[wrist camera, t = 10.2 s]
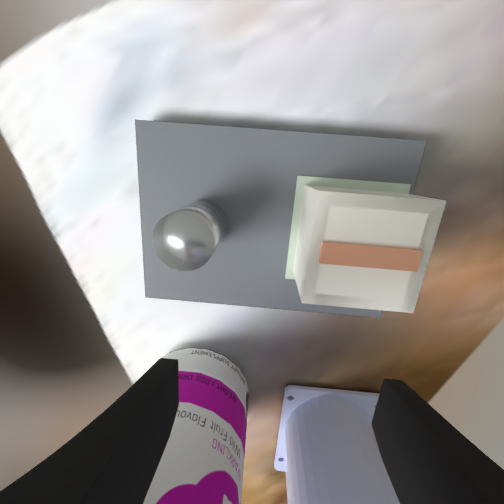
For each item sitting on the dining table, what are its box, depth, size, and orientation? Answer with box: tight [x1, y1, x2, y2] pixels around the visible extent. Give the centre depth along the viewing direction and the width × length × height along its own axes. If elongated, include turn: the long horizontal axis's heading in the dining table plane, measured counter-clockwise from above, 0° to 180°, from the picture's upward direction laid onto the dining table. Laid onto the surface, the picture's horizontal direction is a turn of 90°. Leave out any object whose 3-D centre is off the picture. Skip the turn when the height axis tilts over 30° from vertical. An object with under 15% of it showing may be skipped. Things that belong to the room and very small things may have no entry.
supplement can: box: [143, 348, 249, 504], centre depth 15 cm, size 8×8×15 cm
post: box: [152, 200, 227, 271], centre depth 14 cm, size 3×3×4 cm
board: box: [135, 120, 426, 318], centre depth 17 cm, size 11×16×2 cm
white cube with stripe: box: [293, 185, 447, 313], centre depth 14 cm, size 5×5×4 cm
